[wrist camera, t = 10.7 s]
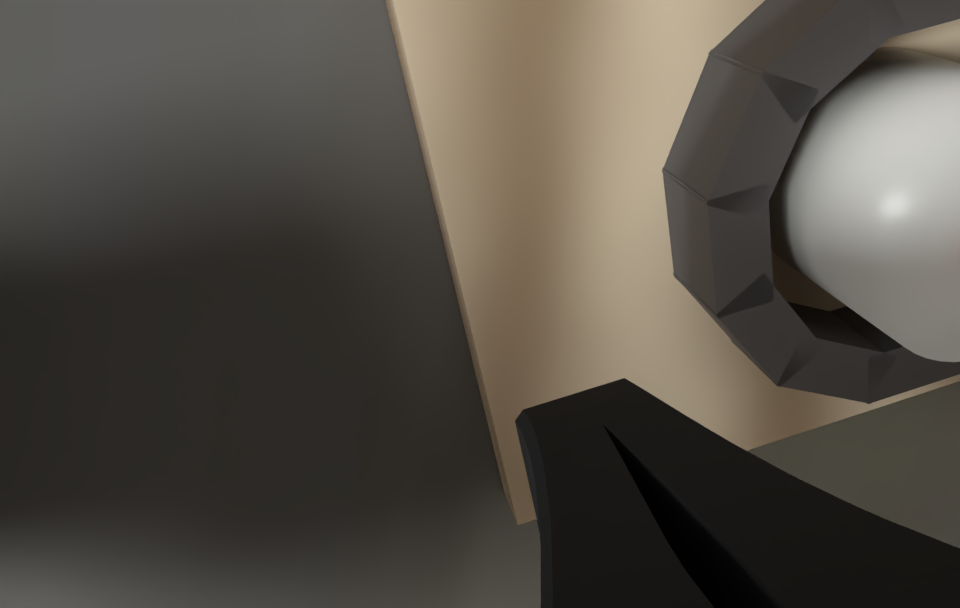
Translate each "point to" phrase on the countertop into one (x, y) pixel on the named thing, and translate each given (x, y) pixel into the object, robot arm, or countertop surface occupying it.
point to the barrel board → (647, 203)
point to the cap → (881, 198)
